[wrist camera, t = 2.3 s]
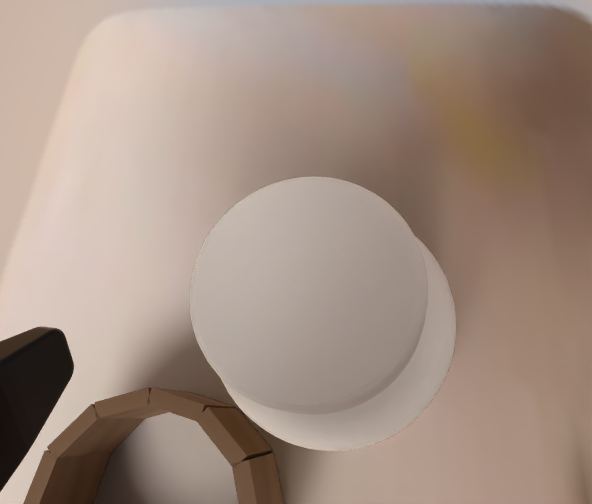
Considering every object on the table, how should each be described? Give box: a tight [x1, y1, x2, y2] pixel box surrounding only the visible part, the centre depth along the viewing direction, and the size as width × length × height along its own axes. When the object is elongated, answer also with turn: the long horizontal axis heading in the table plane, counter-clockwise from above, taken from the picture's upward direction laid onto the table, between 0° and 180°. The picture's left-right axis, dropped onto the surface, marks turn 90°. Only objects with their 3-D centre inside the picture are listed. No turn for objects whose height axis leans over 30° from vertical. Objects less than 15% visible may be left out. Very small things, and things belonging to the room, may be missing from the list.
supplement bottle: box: [189, 176, 457, 451], centre depth 12 cm, size 5×5×10 cm
